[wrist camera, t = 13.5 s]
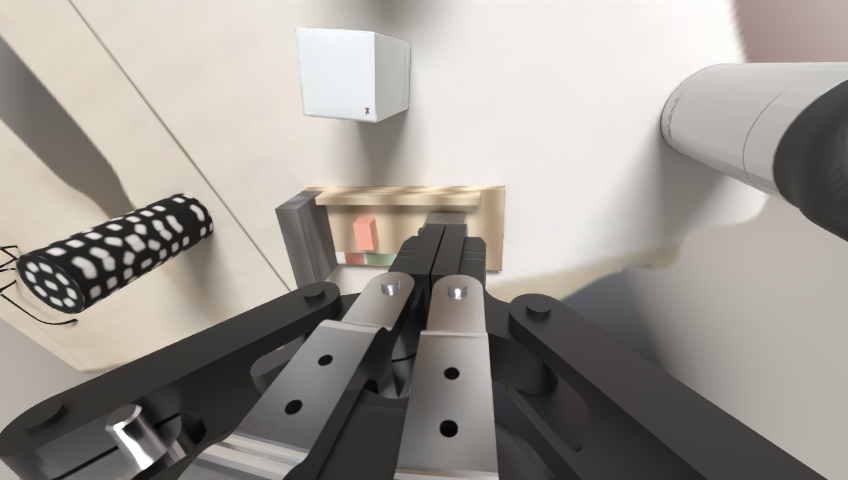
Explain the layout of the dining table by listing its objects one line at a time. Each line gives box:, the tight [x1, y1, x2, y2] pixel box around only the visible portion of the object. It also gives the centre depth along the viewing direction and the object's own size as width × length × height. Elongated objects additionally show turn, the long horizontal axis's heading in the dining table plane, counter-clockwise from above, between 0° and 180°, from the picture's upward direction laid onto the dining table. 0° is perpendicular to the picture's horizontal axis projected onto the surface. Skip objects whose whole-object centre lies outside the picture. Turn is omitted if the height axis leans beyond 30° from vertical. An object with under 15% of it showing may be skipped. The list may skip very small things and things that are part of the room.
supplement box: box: [296, 28, 411, 123], centre depth 35 cm, size 7×7×13 cm
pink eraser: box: [353, 217, 379, 250], centre depth 48 cm, size 2×4×2 cm, turn 4°
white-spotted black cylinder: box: [17, 194, 213, 314], centre depth 47 cm, size 8×8×20 cm
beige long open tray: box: [275, 186, 505, 289], centre depth 45 cm, size 28×12×8 cm, turn 94°
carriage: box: [418, 212, 467, 236], centre depth 43 cm, size 5×6×6 cm
